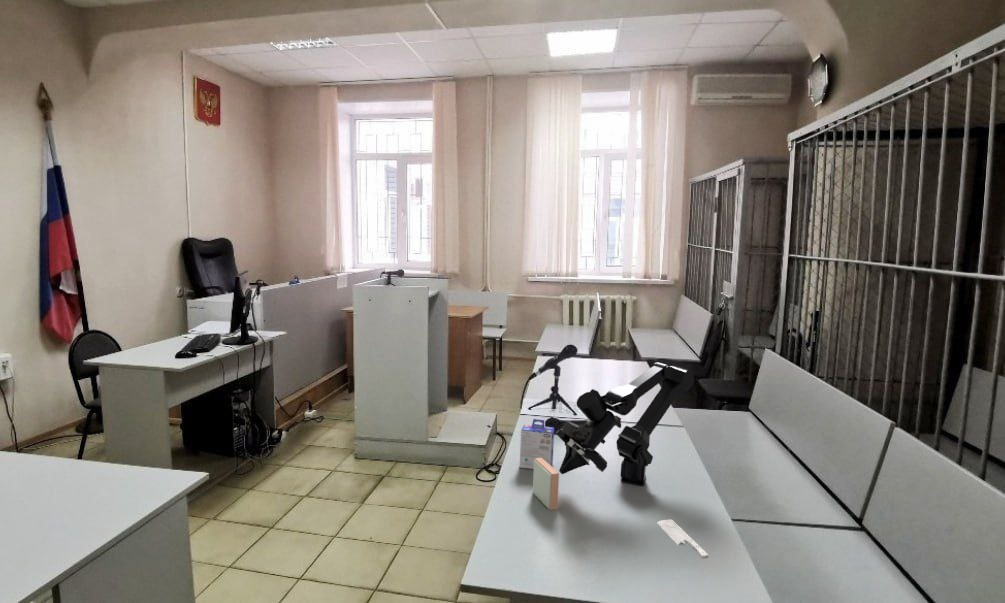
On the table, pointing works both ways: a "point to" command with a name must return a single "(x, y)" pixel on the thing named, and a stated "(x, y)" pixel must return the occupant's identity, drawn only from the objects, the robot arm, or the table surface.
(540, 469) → the tile
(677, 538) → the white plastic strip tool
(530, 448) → the ink cartridge box
